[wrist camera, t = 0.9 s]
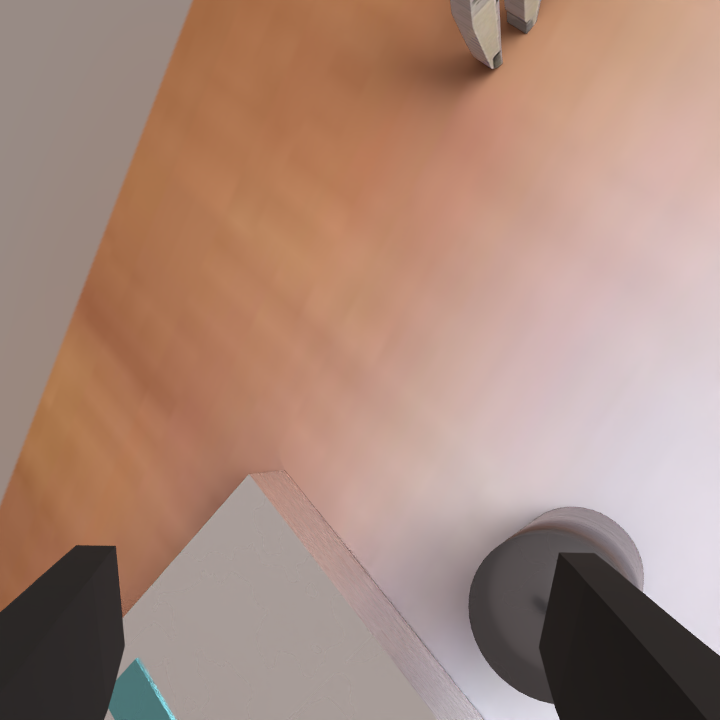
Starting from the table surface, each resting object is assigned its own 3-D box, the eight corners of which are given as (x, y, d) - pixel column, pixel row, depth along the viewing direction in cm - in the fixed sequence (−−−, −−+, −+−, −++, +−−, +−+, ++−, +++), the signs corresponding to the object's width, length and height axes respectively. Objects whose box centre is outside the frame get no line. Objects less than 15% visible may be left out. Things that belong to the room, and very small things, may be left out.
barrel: (673, 577, 20) (678, 634, 14) (579, 658, 21) (551, 739, 15) (574, 481, 21) (545, 499, 16) (492, 560, 22) (437, 603, 17)
